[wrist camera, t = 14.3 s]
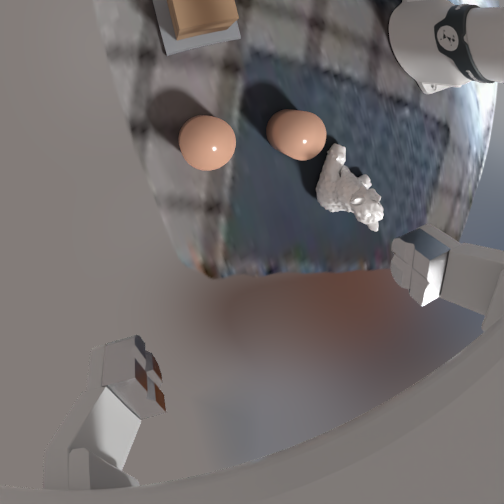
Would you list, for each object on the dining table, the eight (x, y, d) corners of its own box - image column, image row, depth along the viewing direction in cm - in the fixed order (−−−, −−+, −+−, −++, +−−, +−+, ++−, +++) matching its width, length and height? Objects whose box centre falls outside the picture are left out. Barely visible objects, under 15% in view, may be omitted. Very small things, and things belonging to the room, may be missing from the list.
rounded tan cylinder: (303, 105, 36) (322, 107, 32) (311, 147, 39) (329, 154, 35) (261, 114, 36) (275, 116, 31) (271, 157, 39) (285, 165, 35)
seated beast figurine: (368, 180, 45) (420, 207, 35) (333, 220, 46) (379, 257, 36) (334, 139, 40) (388, 158, 30) (295, 183, 41) (340, 215, 31)
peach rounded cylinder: (219, 108, 34) (228, 110, 30) (231, 153, 37) (241, 161, 33) (172, 123, 33) (173, 126, 29) (186, 167, 36) (189, 177, 32)
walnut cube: (216, -11, 25) (226, -28, 20) (226, 29, 28) (238, 18, 23) (166, -1, 24) (168, -18, 19) (176, 40, 27) (179, 29, 22)
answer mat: (224, -20, 25) (225, -22, 24) (239, 38, 30) (241, 37, 29) (151, -5, 24) (151, -7, 23) (166, 55, 29) (166, 55, 28)
